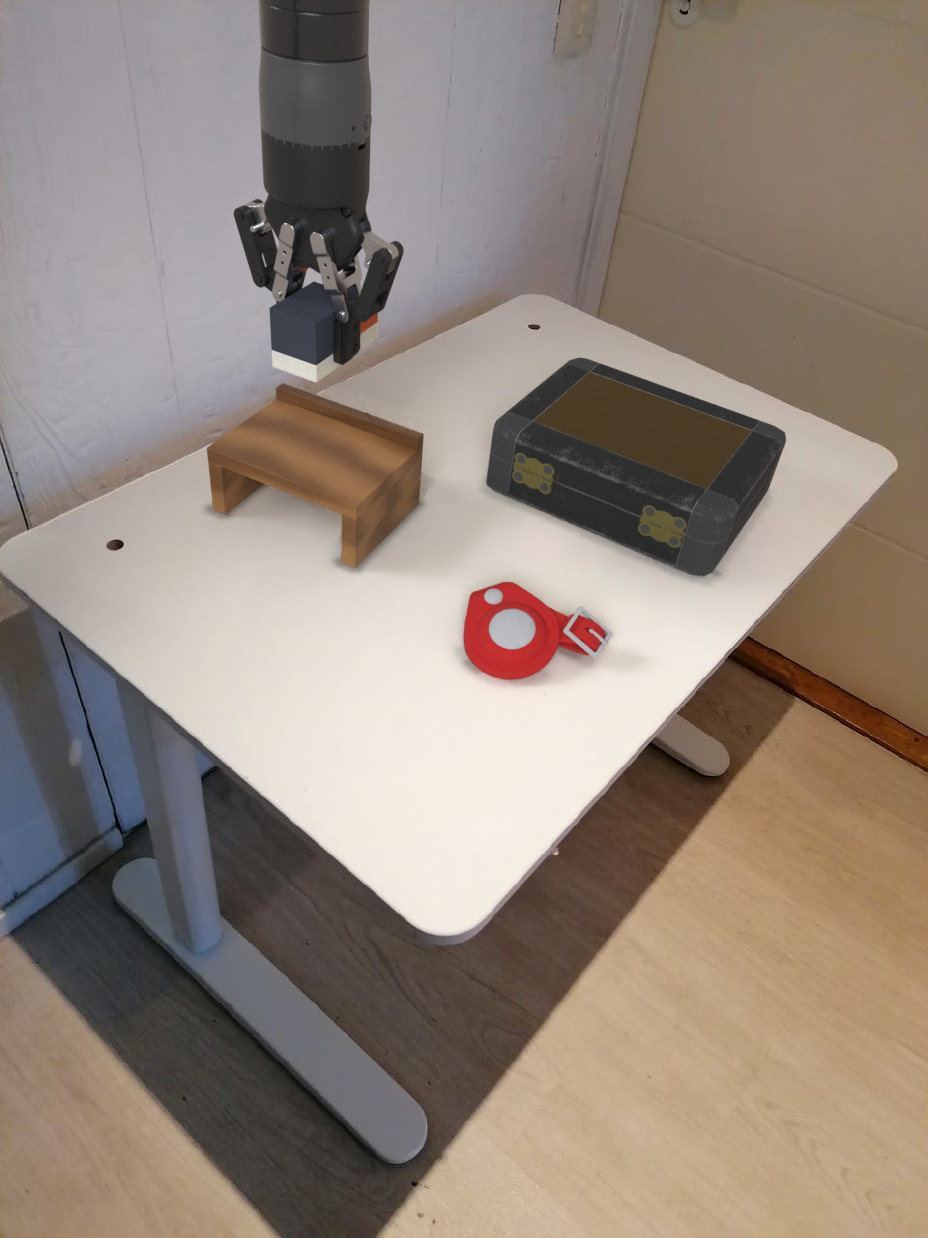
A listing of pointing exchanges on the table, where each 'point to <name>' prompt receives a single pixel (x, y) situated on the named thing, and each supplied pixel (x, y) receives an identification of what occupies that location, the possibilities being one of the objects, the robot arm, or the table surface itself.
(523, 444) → the cash box
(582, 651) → the tracker holder
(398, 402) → the table surface
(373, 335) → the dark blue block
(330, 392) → the table surface
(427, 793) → the table surface
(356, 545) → the shoe shelf
